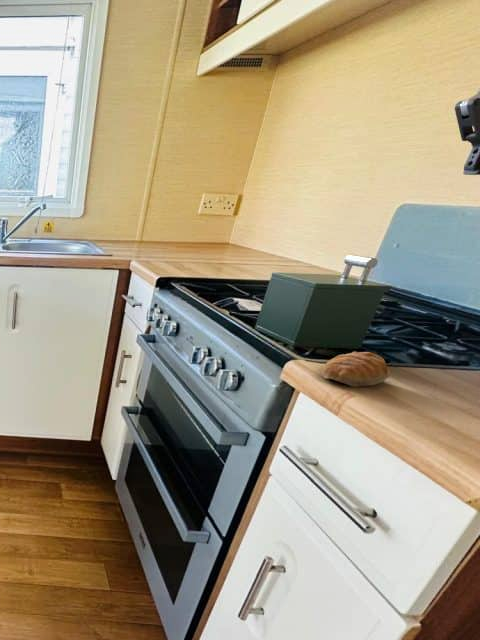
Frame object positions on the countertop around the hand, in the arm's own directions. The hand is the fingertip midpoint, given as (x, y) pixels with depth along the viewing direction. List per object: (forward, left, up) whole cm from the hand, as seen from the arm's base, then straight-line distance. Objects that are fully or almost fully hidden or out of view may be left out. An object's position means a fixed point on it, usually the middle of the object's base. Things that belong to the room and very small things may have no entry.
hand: (474, 174), depth 63 cm
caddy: (+9, -9, -29) cm, 32 cm away
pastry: (+17, +12, -29) cm, 36 cm away
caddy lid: (+9, -9, -18) cm, 22 cm away
